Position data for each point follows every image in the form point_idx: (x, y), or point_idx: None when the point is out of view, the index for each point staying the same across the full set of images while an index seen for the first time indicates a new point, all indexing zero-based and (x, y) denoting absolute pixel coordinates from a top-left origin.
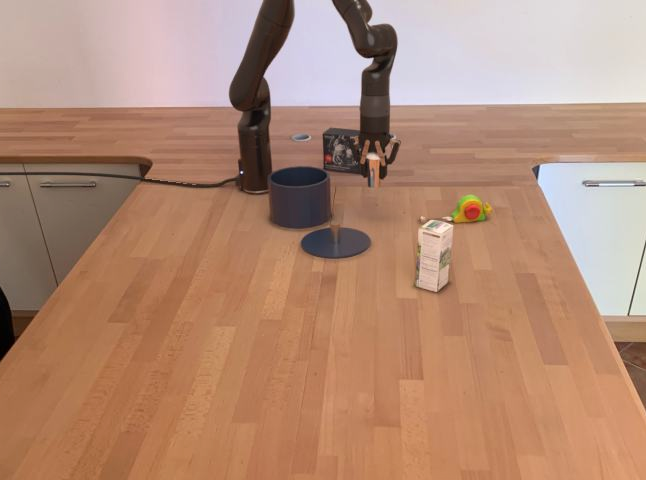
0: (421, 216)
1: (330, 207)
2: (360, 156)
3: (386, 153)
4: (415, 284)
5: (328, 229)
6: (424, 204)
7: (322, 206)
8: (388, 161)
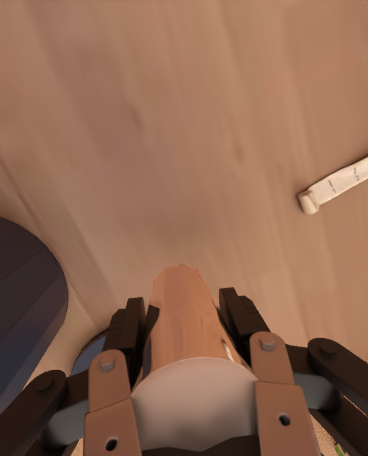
0: (306, 198)
1: (47, 291)
2: (76, 423)
3: (298, 388)
4: (337, 452)
5: (101, 349)
6: (284, 55)
7: (41, 349)
8: (312, 410)
